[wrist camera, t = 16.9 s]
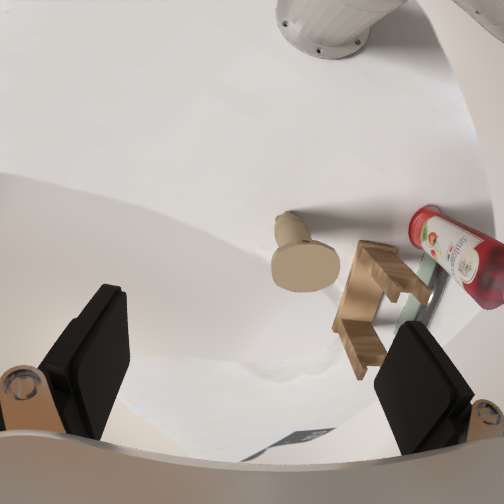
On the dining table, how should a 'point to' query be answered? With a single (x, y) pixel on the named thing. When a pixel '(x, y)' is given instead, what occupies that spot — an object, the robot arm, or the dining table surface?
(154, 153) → the dining table surface
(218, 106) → the dining table surface
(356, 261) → the hook stand
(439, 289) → the rail
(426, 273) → the mat
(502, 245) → the liquor
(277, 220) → the handle
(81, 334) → the robot arm
